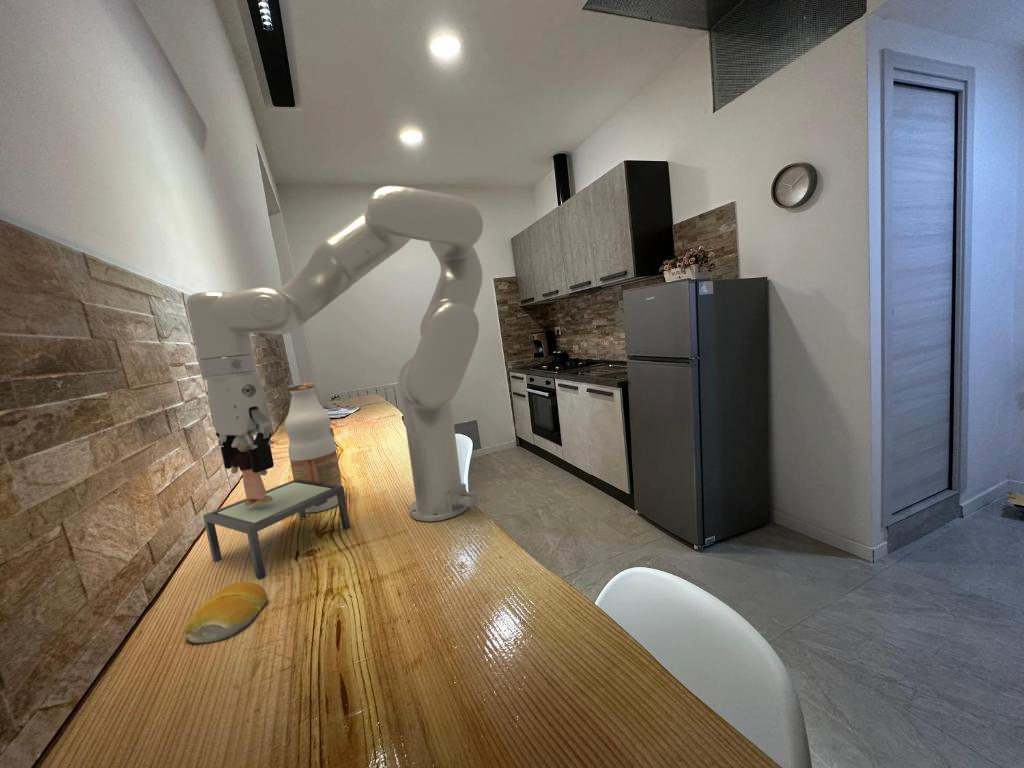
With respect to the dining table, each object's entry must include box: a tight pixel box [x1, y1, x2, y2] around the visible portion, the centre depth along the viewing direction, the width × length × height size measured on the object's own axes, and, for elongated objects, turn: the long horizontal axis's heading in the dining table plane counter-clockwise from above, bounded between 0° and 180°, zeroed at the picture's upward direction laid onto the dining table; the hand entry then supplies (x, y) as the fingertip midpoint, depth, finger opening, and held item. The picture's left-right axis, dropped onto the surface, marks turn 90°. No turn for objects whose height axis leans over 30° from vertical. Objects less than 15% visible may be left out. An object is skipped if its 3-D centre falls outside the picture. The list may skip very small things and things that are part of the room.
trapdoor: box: [217, 482, 332, 525], centre depth 71 cm, size 12×14×3 cm
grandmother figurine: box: [230, 435, 273, 506], centre depth 67 cm, size 8×4×13 cm, turn 84°
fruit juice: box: [284, 382, 343, 514], centre depth 87 cm, size 9×9×28 cm
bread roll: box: [184, 581, 268, 644], centre depth 52 cm, size 8×9×4 cm
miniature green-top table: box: [202, 479, 351, 580], centre depth 71 cm, size 15×17×8 cm
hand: (249, 467), depth 67 cm, fingers open, 8 cm apart
